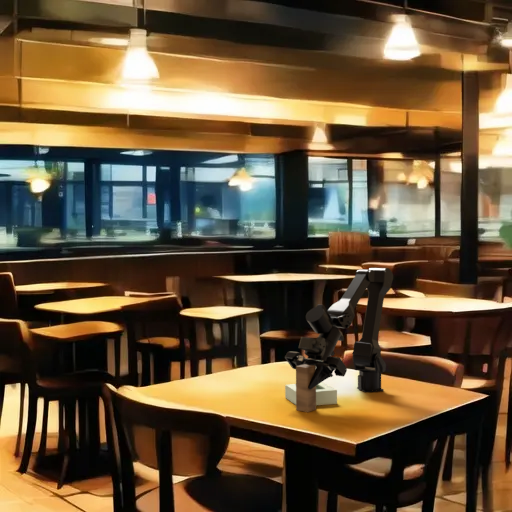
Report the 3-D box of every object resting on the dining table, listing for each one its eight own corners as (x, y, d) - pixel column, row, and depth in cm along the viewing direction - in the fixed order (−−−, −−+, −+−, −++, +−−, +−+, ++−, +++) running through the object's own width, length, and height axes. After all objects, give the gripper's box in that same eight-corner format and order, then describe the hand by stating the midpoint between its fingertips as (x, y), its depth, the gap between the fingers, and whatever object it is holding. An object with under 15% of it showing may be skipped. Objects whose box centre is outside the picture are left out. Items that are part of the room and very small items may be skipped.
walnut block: (304, 407, 213) (304, 364, 212) (316, 409, 210) (315, 365, 209) (296, 410, 210) (295, 366, 209) (307, 412, 207) (307, 367, 206)
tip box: (322, 394, 228) (322, 381, 228) (337, 403, 217) (336, 390, 216) (285, 397, 225) (285, 384, 225) (298, 406, 213) (298, 393, 213)
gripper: (288, 323, 218) (264, 366, 210) (340, 329, 206) (317, 374, 198) (304, 347, 224) (282, 389, 216) (356, 353, 212) (334, 398, 204)
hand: (303, 387), depth 208 cm, fingers closed on walnut block, 4 cm apart
